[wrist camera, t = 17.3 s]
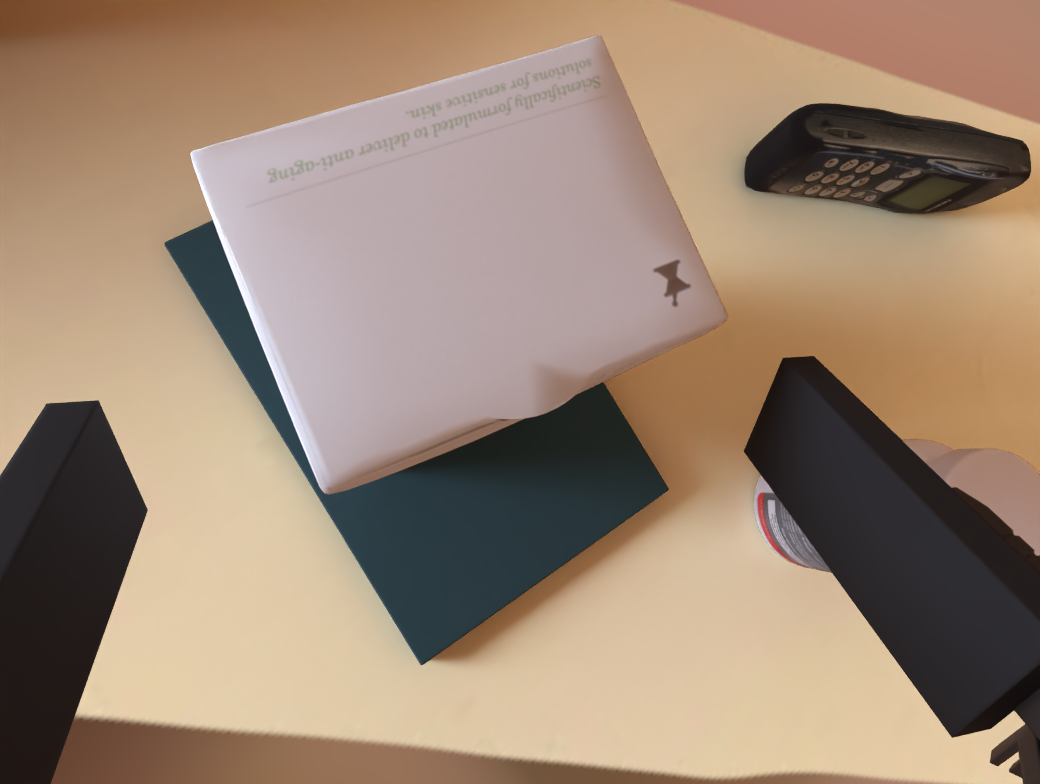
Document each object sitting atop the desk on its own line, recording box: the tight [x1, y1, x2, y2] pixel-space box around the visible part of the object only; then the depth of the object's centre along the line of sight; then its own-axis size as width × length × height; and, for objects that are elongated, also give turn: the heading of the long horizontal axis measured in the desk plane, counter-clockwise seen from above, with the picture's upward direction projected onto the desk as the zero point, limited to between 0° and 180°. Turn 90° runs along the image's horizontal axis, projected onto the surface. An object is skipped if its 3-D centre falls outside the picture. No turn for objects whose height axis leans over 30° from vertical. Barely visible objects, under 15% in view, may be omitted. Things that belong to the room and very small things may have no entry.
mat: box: [164, 220, 669, 665], centre depth 26 cm, size 20×13×1 cm, turn 32°
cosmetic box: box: [190, 35, 728, 495], centre depth 18 cm, size 8×7×16 cm
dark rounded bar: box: [745, 103, 1031, 214], centre depth 30 cm, size 5×3×15 cm
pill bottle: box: [754, 439, 1040, 573], centre depth 24 cm, size 6×6×10 cm
